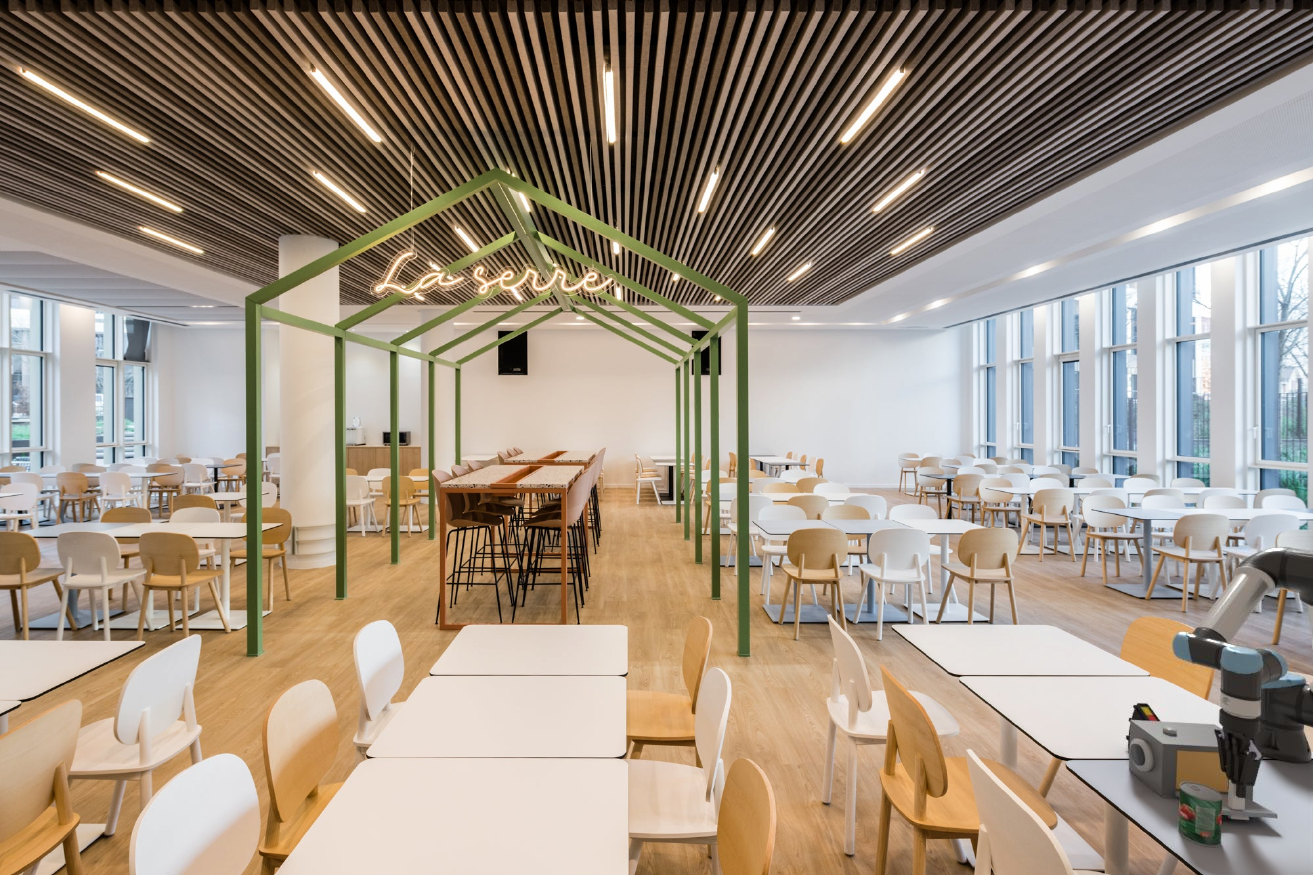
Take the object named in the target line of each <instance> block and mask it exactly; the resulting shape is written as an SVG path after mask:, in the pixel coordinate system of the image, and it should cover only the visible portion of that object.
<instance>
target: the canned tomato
mask: <svg viewBox="0 0 1313 875" xmlns="http://www.w3.org/2000/svg"><path fill="white" fill-rule="evenodd" d="M1179 786H1180V791H1179V798H1178V799H1179V801H1178V829H1177V830H1178V832H1179V834H1180V835H1181V836H1182V837H1183V838H1185V839H1186V840H1188V841H1189V842H1192V841H1193V842H1192V843H1194V844H1196V843H1197V845H1199V846H1203V845H1204V846H1203V847H1208V848H1218V847H1220V846H1221V845H1222V823H1223V822H1222V820H1223V819H1222V818H1223V816H1222V798H1223V797H1222V795H1221V794H1220V793H1219V792H1218V791H1217V790H1215V789H1213V788H1211V787H1209V786H1206V785H1203V784H1200V783H1195V782H1182V783H1180V785H1179Z"/></svg>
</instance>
